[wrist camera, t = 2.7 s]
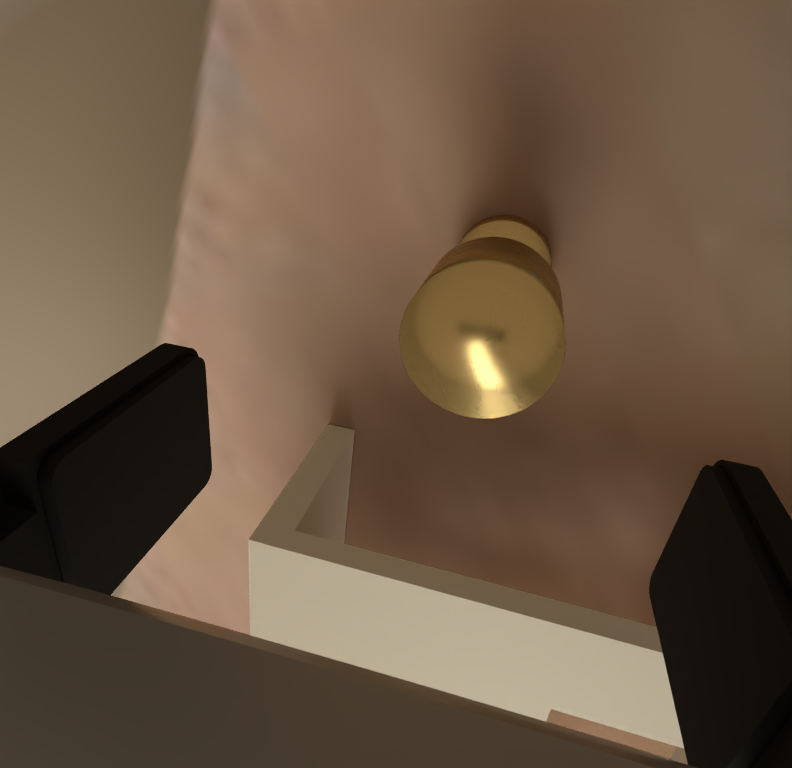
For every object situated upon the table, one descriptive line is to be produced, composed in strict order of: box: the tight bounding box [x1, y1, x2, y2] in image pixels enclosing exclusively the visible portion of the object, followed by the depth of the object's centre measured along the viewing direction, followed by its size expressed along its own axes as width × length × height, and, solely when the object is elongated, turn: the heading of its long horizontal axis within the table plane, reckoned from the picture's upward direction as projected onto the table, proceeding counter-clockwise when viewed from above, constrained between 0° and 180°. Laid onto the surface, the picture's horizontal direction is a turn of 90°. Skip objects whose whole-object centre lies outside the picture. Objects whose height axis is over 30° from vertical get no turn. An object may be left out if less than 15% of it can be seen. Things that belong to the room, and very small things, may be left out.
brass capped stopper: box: [399, 215, 566, 419], centre depth 21 cm, size 5×5×10 cm
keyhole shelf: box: [249, 424, 688, 765], centre depth 29 cm, size 26×16×10 cm, turn 84°
